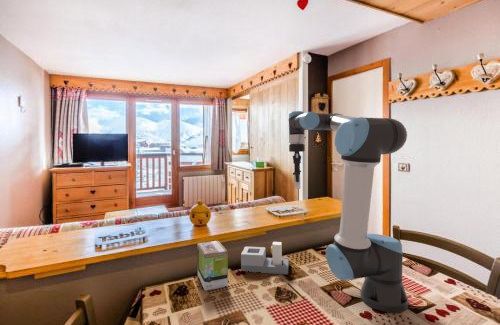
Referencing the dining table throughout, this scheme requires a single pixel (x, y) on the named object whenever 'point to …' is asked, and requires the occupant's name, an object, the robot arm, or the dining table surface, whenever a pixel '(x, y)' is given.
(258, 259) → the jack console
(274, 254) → the plug
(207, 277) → the tea box
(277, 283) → the dining table surface
